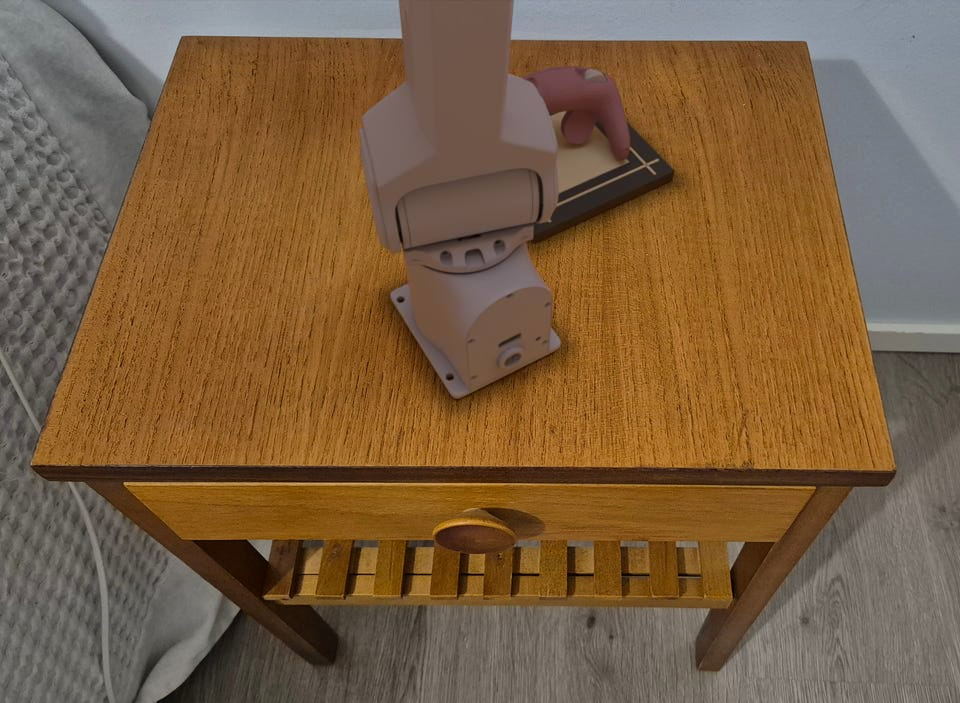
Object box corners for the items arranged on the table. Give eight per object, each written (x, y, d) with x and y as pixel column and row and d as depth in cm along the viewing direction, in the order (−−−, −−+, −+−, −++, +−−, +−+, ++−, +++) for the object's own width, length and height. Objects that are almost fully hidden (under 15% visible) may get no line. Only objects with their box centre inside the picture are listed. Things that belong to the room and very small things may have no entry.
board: (672, 180, 60) (675, 169, 59) (534, 243, 57) (534, 233, 56) (584, 88, 66) (585, 77, 65) (454, 142, 63) (453, 131, 62)
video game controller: (614, 145, 63) (609, 52, 59) (636, 161, 59) (632, 62, 56) (492, 171, 62) (478, 77, 58) (506, 189, 58) (493, 90, 54)
